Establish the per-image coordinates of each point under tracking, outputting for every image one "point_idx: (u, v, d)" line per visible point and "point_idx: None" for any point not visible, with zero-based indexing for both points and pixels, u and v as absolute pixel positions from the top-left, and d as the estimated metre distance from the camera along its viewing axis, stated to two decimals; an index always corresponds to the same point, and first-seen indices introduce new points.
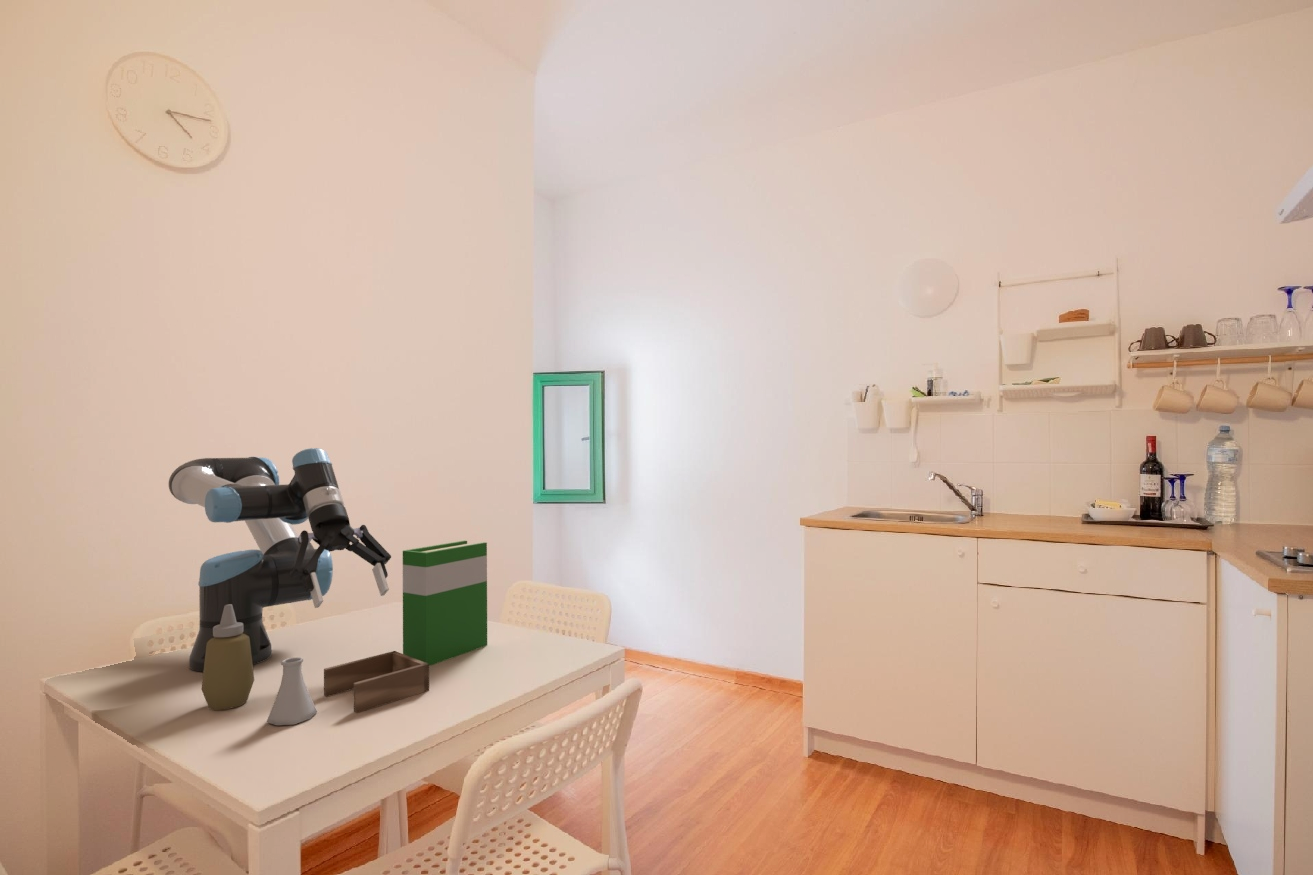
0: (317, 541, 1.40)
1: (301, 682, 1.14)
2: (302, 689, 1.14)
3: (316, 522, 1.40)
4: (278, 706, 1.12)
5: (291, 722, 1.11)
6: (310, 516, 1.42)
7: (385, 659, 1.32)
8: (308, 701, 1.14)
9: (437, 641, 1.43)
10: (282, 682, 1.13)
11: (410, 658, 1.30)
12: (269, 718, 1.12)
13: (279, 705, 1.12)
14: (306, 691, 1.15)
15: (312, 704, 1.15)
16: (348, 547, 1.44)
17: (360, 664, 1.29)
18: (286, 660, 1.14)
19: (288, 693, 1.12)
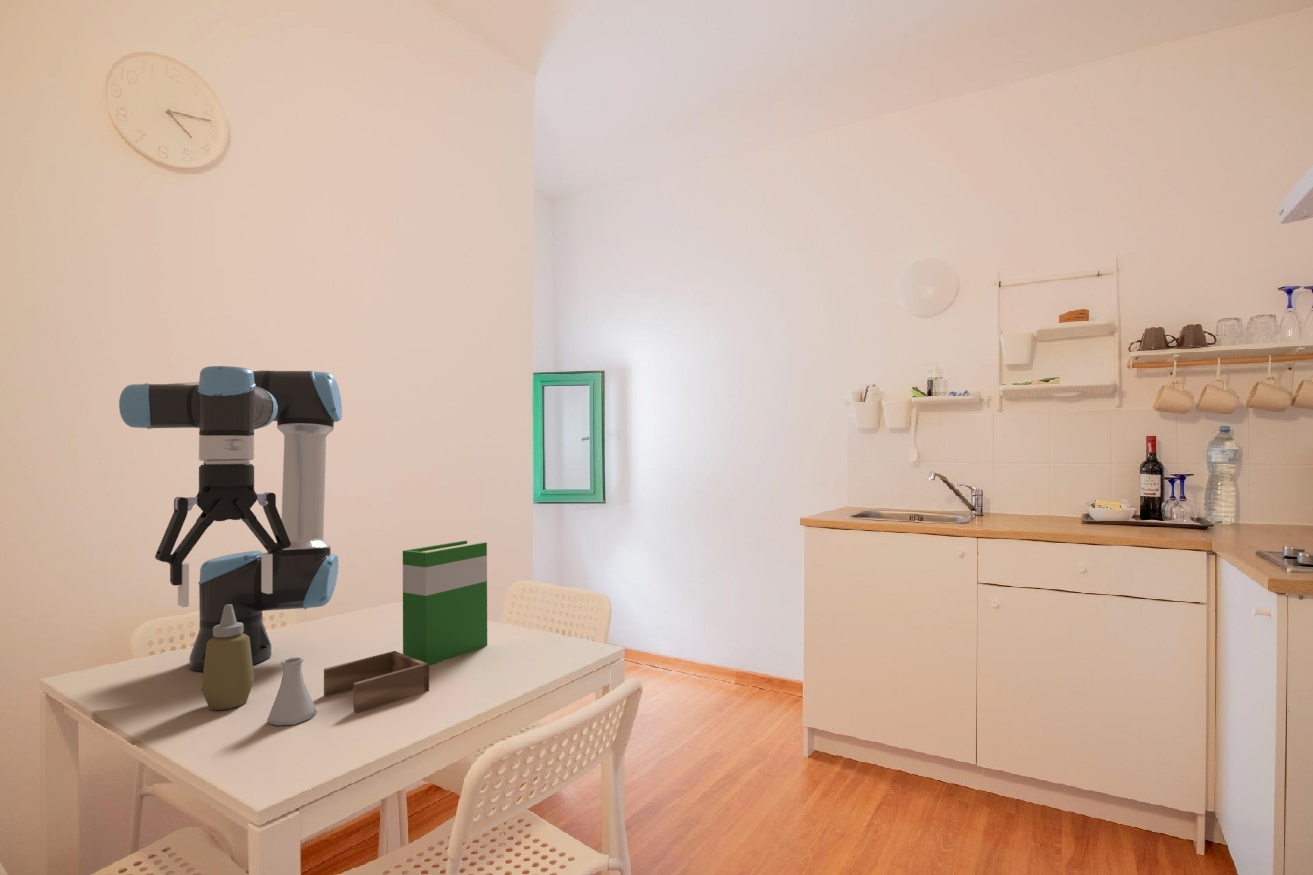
0: None
1: (301, 682, 1.14)
2: (302, 689, 1.14)
3: (205, 484, 1.03)
4: (278, 706, 1.12)
5: (291, 722, 1.11)
6: (200, 469, 1.04)
7: (385, 659, 1.32)
8: (308, 701, 1.14)
9: (437, 641, 1.43)
10: (282, 682, 1.13)
11: (410, 658, 1.30)
12: (269, 718, 1.12)
13: (279, 705, 1.12)
14: (306, 691, 1.15)
15: (312, 704, 1.15)
16: None
17: (360, 664, 1.29)
18: (286, 660, 1.14)
19: (288, 693, 1.12)
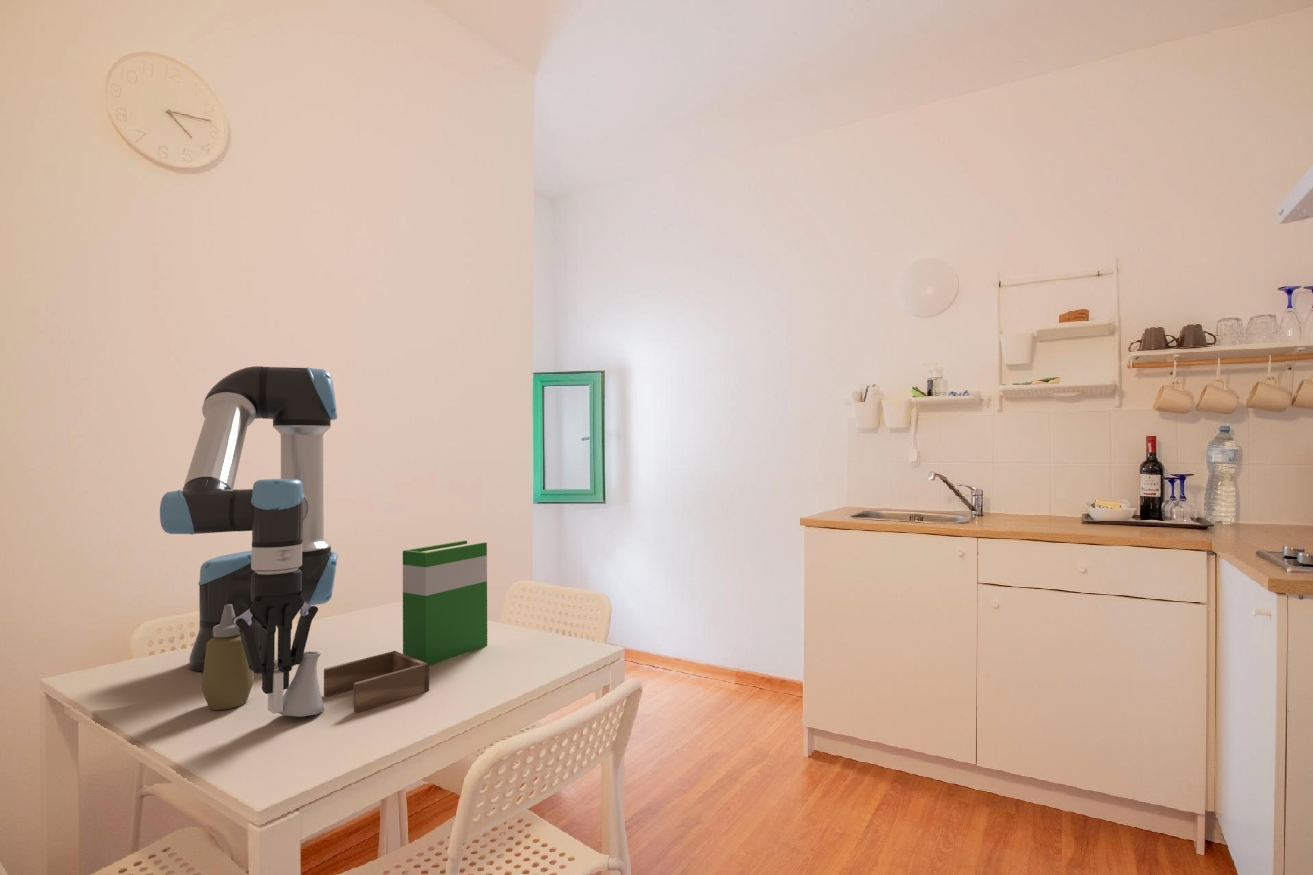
0: None
1: (314, 676, 1.15)
2: (314, 683, 1.15)
3: (257, 594, 1.09)
4: (289, 696, 1.13)
5: (298, 714, 1.11)
6: (252, 578, 1.09)
7: (385, 659, 1.32)
8: (317, 697, 1.15)
9: (437, 641, 1.43)
10: (296, 673, 1.15)
11: (410, 658, 1.30)
12: None
13: (289, 696, 1.13)
14: (317, 686, 1.16)
15: (321, 701, 1.16)
16: None
17: (360, 664, 1.29)
18: (304, 652, 1.17)
19: (300, 685, 1.13)
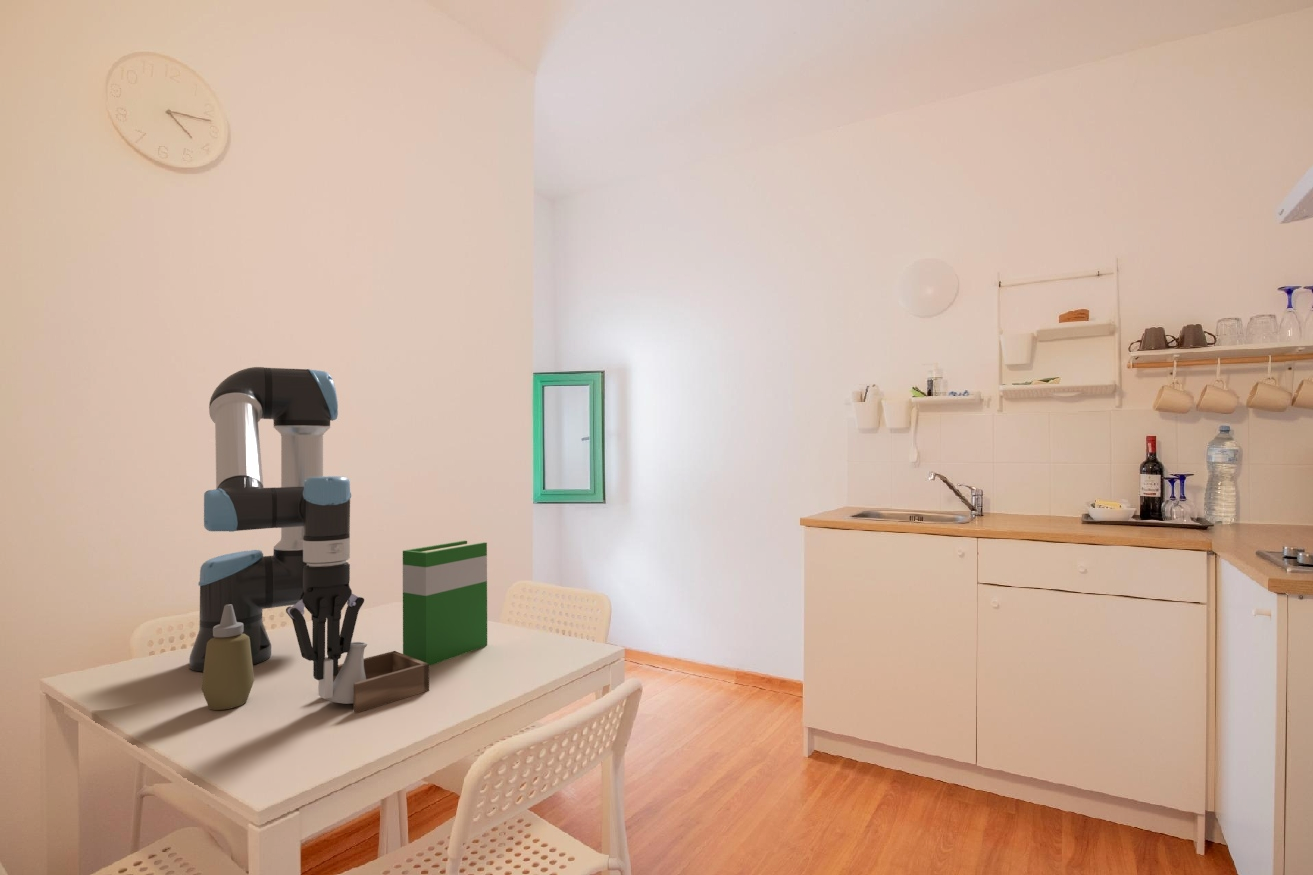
0: None
1: (360, 666, 1.21)
2: (361, 672, 1.20)
3: (309, 585, 1.15)
4: (337, 684, 1.19)
5: (344, 701, 1.17)
6: (304, 570, 1.16)
7: (385, 659, 1.32)
8: None
9: (437, 641, 1.43)
10: (344, 662, 1.20)
11: (410, 658, 1.30)
12: None
13: (337, 683, 1.19)
14: (363, 676, 1.21)
15: None
16: None
17: None
18: (352, 643, 1.22)
19: (347, 673, 1.19)
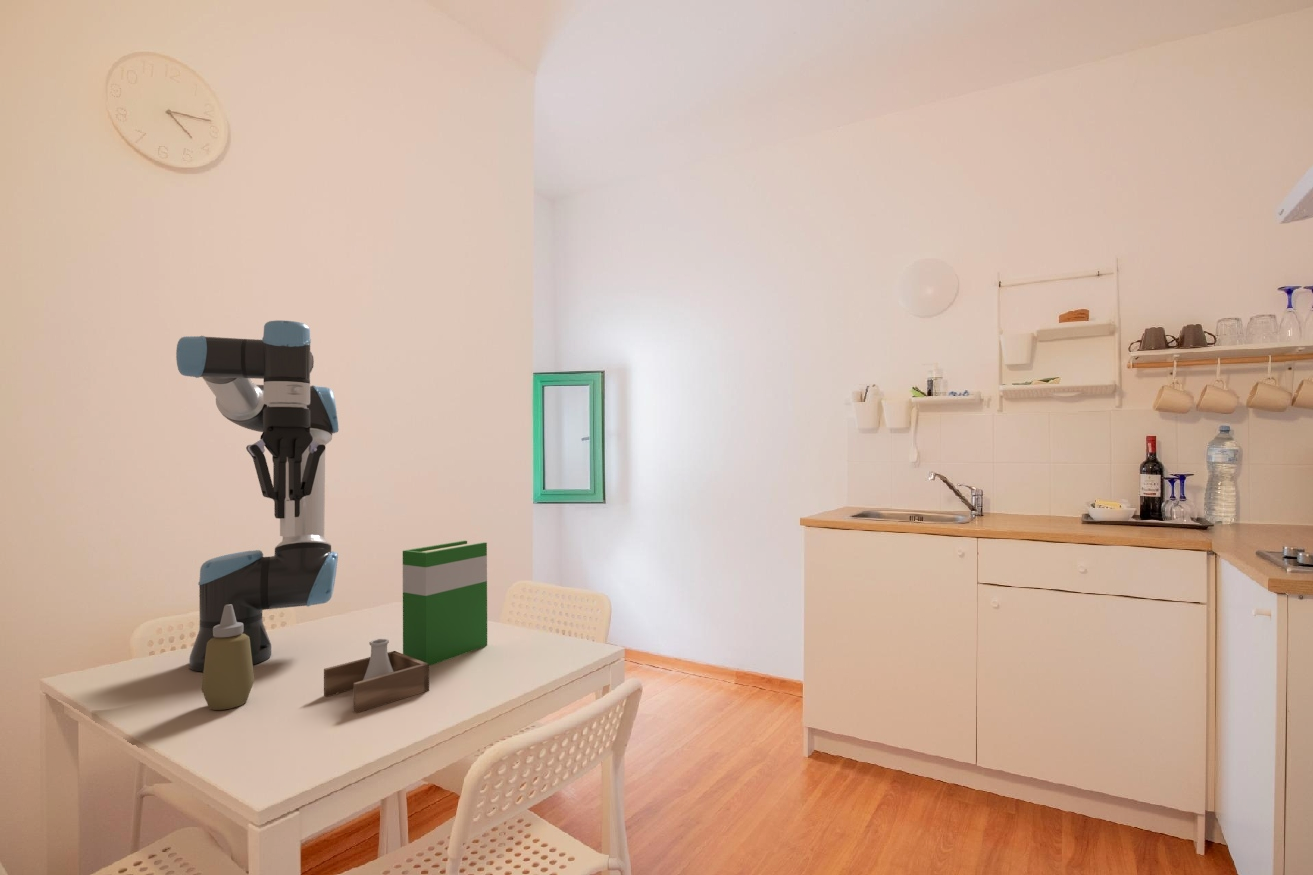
0: (265, 444, 1.19)
1: (386, 662, 1.24)
2: (388, 668, 1.24)
3: (269, 424, 1.17)
4: None
5: None
6: (265, 411, 1.18)
7: None
8: None
9: (437, 641, 1.43)
10: (370, 661, 1.24)
11: (410, 658, 1.30)
12: None
13: None
14: (391, 670, 1.25)
15: None
16: (290, 457, 1.22)
17: (360, 664, 1.29)
18: (374, 641, 1.25)
19: (375, 671, 1.23)
